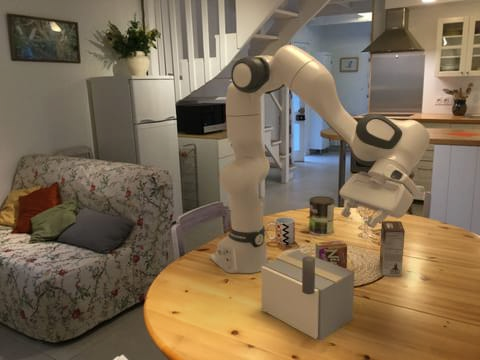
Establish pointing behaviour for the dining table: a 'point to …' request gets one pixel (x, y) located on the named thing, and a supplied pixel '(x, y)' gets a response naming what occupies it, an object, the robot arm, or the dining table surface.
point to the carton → (323, 289)
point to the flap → (292, 297)
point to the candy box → (333, 252)
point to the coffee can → (321, 215)
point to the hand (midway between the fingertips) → (356, 220)
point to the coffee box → (391, 248)
